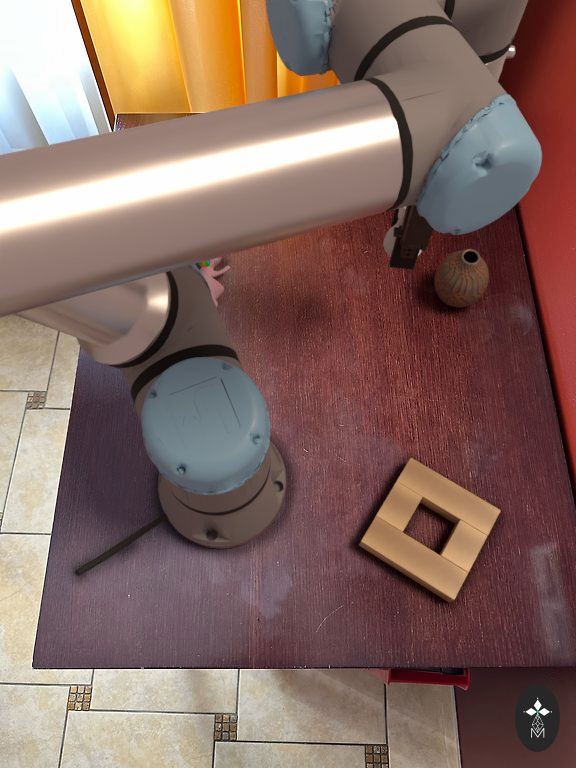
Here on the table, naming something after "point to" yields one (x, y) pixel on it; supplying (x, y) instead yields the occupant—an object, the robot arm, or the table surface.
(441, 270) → the vase
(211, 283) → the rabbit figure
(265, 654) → the table surface
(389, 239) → the rook chess piece
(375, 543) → the square wooden frame
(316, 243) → the table surface
